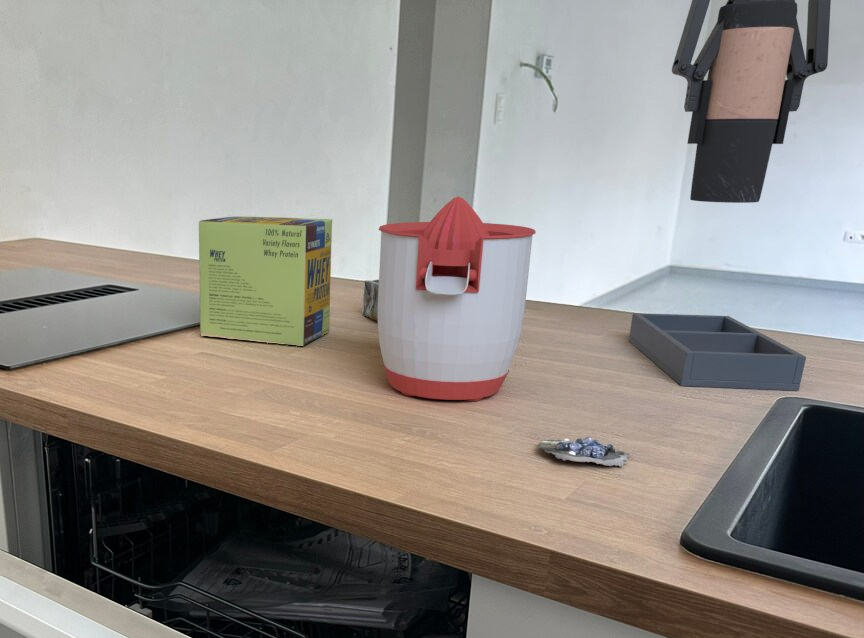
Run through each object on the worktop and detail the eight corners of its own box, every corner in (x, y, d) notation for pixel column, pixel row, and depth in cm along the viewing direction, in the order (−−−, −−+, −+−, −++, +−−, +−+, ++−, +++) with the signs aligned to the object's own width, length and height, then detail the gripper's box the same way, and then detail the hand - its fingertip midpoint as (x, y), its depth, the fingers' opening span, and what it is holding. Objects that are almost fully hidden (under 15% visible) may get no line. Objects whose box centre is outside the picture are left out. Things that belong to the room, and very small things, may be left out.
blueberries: (521, 448, 75) (523, 427, 74) (598, 439, 77) (600, 419, 76) (569, 475, 69) (572, 452, 68) (651, 464, 71) (655, 442, 70)
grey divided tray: (723, 344, 114) (728, 315, 113) (799, 391, 93) (806, 356, 91) (628, 340, 116) (632, 313, 115) (680, 386, 94) (686, 352, 93)
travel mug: (672, 199, 101) (702, 9, 94) (726, 198, 103) (759, 12, 96) (721, 203, 94) (757, -2, 87) (778, 202, 96) (817, 1, 89)
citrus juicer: (357, 407, 86) (366, 200, 79) (381, 366, 102) (390, 191, 95) (519, 420, 82) (542, 204, 76) (518, 376, 98) (537, 193, 91)
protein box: (304, 347, 111) (307, 224, 106) (198, 337, 117) (196, 220, 112) (331, 332, 120) (334, 218, 115) (231, 323, 126) (230, 214, 121)
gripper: (680, -98, 86) (646, 143, 94) (904, -106, 83) (850, 144, 91) (660, -79, 93) (629, 143, 101) (866, -86, 90) (818, 144, 98)
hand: (734, 143), depth 96 cm, fingers closed on travel mug, 8 cm apart
